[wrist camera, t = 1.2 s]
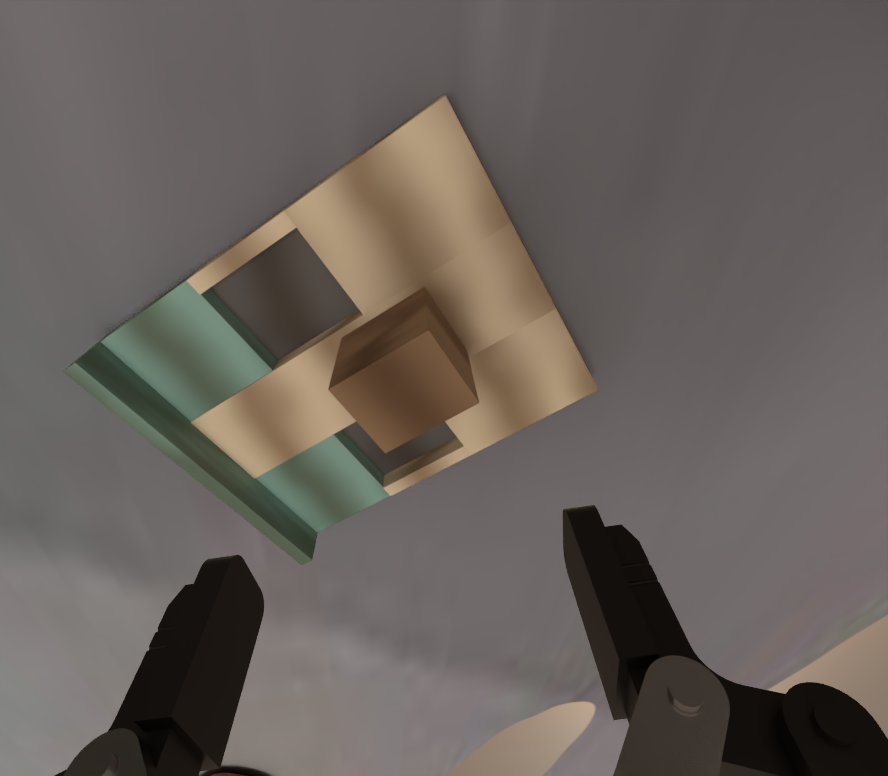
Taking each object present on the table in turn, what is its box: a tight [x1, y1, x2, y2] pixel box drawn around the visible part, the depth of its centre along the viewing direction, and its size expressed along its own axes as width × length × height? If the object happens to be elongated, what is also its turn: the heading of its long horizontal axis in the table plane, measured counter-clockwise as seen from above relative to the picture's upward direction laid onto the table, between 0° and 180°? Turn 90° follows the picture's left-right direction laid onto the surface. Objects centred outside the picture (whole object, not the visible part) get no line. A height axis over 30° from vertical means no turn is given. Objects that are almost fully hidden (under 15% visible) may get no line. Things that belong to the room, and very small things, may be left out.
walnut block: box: [328, 287, 479, 453], centre depth 28 cm, size 6×5×6 cm
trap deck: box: [63, 95, 598, 565], centre depth 31 cm, size 25×20×4 cm
